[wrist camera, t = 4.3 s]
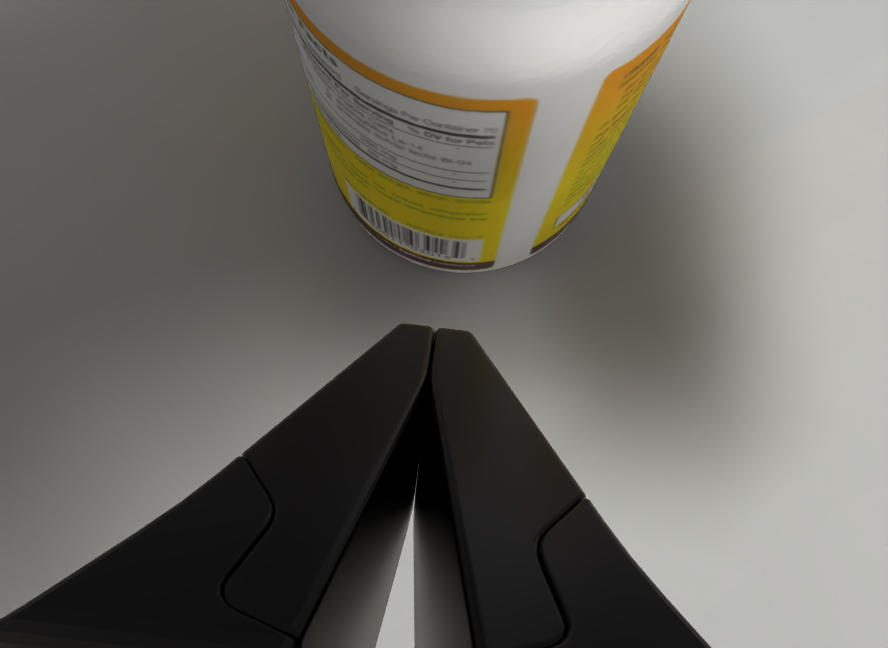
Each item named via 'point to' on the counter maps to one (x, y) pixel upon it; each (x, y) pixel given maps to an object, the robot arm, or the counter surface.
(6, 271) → the counter surface
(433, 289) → the counter surface
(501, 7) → the supplement bottle
